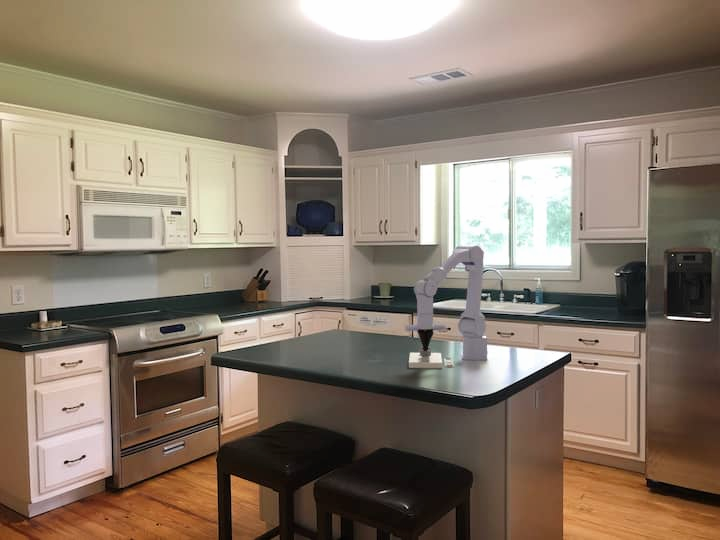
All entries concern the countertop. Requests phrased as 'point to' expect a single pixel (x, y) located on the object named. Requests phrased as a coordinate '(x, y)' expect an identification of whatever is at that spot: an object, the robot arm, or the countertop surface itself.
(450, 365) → the card
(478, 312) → the robot arm
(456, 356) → the countertop surface
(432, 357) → the board
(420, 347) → the button
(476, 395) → the countertop surface
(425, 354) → the button
